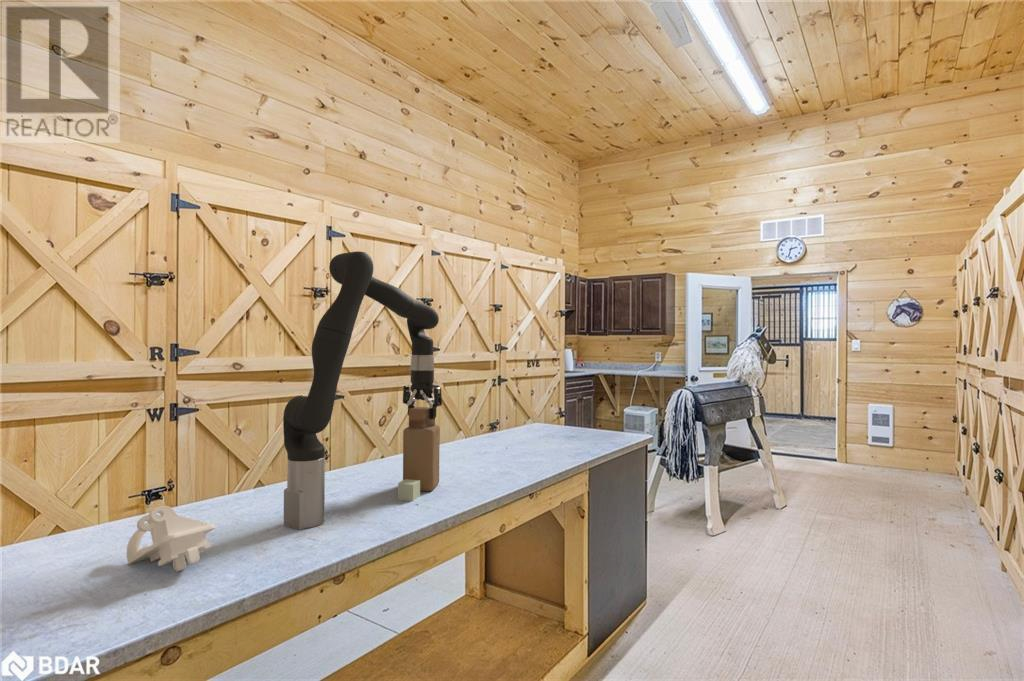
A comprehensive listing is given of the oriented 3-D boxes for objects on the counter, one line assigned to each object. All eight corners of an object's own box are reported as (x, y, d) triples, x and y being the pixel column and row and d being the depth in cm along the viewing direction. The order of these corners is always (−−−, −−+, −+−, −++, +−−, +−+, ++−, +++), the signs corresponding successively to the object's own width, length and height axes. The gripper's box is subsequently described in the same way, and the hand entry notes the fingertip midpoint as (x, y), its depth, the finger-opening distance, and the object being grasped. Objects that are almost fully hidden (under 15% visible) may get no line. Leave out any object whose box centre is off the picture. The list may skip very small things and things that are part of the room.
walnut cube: (423, 428, 171) (423, 409, 171) (408, 427, 174) (409, 408, 174) (434, 426, 176) (435, 407, 176) (420, 424, 179) (420, 406, 179)
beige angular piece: (128, 592, 113) (116, 531, 116) (185, 572, 122) (173, 516, 125) (167, 570, 102) (153, 503, 106) (227, 550, 112) (212, 490, 115)
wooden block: (439, 483, 180) (440, 424, 180) (432, 492, 170) (433, 429, 170) (410, 482, 181) (411, 423, 181) (401, 491, 171) (402, 428, 171)
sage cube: (413, 501, 161) (413, 484, 161) (397, 499, 162) (398, 483, 162) (420, 496, 166) (420, 480, 166) (405, 495, 167) (405, 479, 167)
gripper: (397, 368, 175) (397, 418, 175) (432, 370, 168) (432, 421, 169) (412, 367, 182) (412, 415, 182) (446, 369, 175) (446, 418, 175)
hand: (421, 418), depth 175 cm, fingers open, 8 cm apart
